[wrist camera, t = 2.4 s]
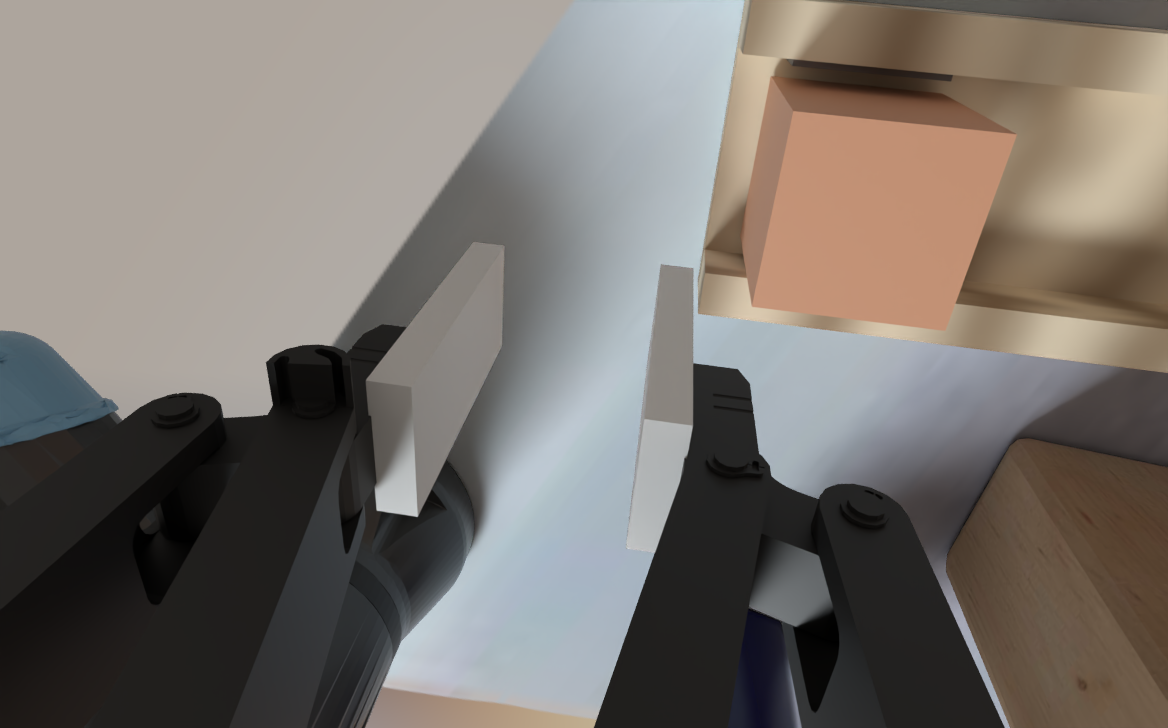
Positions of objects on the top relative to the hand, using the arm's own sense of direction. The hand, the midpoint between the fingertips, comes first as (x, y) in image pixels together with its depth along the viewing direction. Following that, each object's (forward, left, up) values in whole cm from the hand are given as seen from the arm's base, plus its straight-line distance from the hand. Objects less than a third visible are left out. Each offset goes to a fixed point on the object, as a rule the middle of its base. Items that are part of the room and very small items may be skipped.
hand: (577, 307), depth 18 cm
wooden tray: (+16, 0, -19) cm, 25 cm away
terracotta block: (+9, 0, -17) cm, 20 cm away
